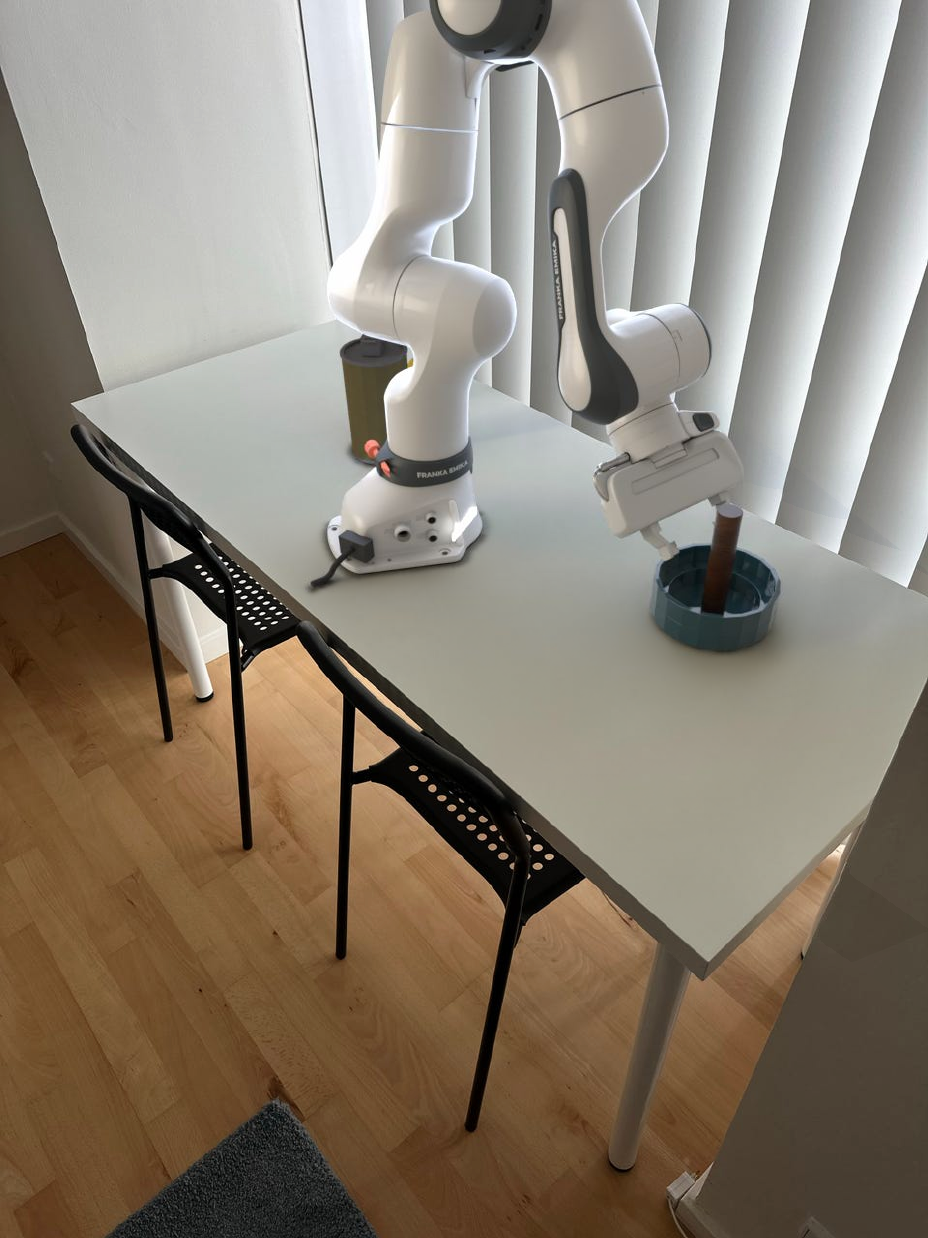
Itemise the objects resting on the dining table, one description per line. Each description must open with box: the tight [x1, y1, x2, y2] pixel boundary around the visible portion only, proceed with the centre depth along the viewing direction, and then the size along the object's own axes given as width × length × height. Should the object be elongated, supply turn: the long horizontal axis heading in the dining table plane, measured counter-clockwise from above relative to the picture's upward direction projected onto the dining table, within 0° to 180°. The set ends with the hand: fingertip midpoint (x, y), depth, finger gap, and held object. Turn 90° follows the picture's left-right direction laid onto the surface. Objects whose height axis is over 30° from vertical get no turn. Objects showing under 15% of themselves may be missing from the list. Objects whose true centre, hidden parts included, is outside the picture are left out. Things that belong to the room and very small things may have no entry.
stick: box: [701, 503, 744, 615], centre depth 116 cm, size 3×3×15 cm
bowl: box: [649, 542, 782, 652], centre depth 119 cm, size 15×15×6 cm
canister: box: [339, 333, 408, 466], centre depth 150 cm, size 11×10×20 cm
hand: (699, 544), depth 116 cm, fingers open, 8 cm apart
